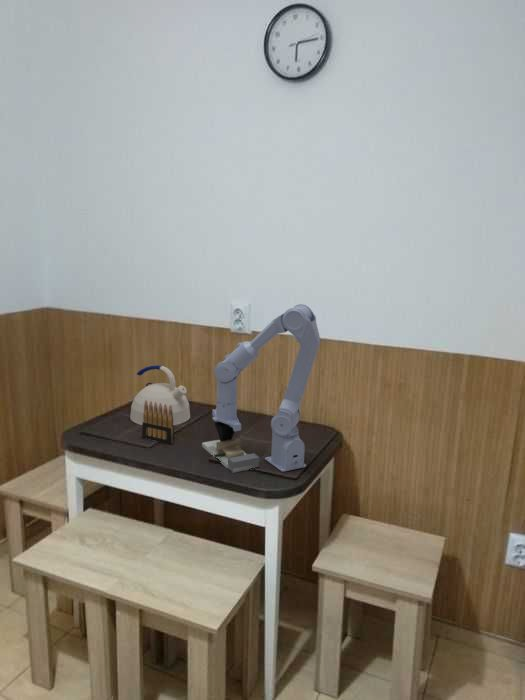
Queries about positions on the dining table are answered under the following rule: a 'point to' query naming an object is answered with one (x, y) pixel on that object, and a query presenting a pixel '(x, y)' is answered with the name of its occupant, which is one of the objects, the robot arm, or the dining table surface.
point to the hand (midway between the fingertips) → (225, 446)
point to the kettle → (161, 398)
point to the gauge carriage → (229, 448)
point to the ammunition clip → (158, 423)
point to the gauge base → (233, 458)
